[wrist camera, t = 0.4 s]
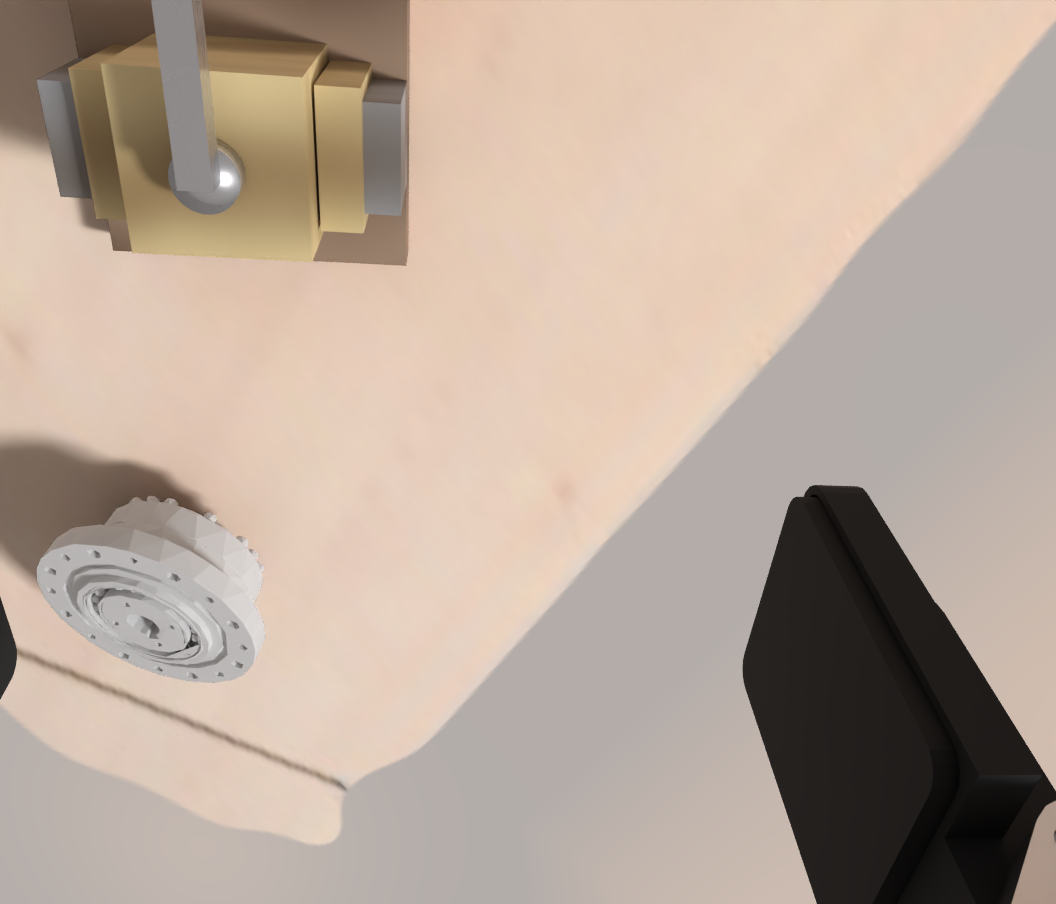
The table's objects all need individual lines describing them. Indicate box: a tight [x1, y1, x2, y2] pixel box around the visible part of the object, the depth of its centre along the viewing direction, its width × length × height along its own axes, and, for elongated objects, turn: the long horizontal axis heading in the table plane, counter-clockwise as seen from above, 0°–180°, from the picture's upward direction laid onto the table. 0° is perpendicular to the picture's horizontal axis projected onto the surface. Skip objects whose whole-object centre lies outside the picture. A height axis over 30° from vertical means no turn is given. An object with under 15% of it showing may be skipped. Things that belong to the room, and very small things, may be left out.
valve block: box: [37, 0, 410, 266], centre depth 30 cm, size 10×11×7 cm
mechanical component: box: [37, 496, 265, 683], centre depth 41 cm, size 10×4×10 cm
